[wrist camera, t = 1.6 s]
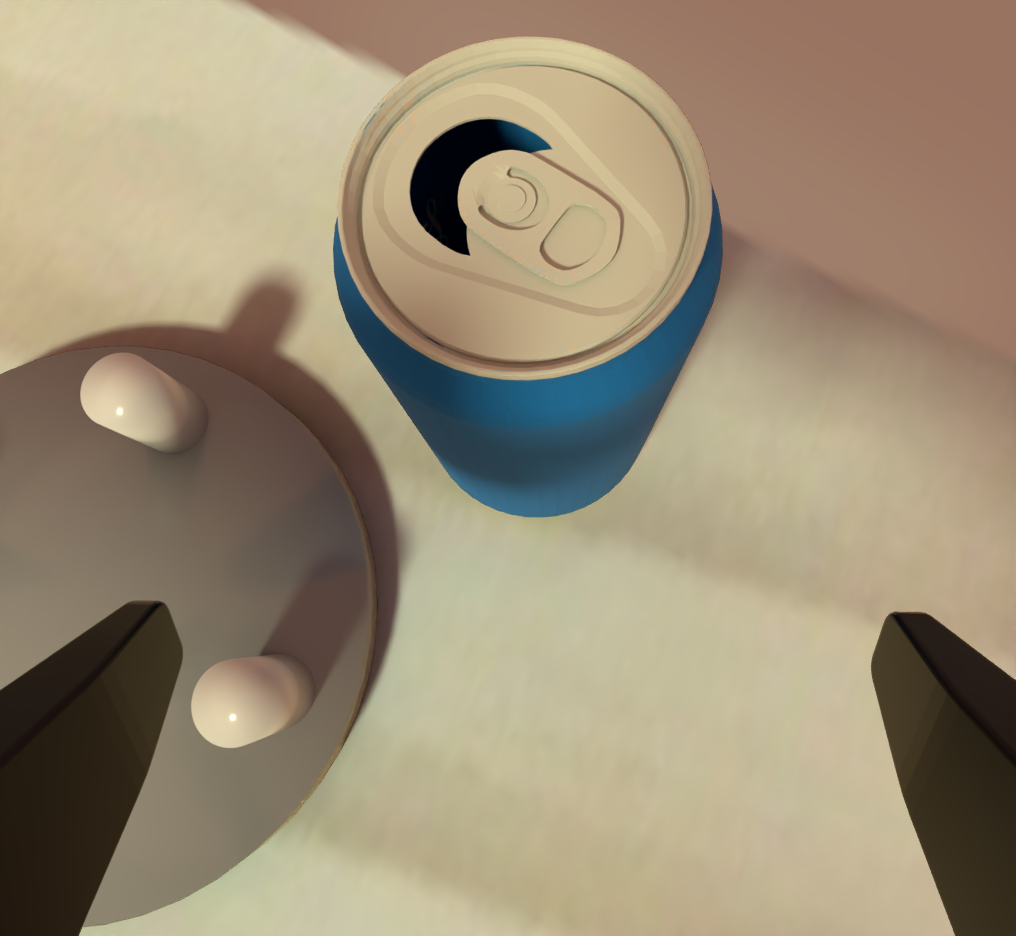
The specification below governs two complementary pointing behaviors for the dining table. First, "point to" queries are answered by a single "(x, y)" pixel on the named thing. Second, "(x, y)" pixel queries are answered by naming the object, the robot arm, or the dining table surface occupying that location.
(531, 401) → the beverage can
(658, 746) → the dining table surface
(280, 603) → the peg stand
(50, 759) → the robot arm
